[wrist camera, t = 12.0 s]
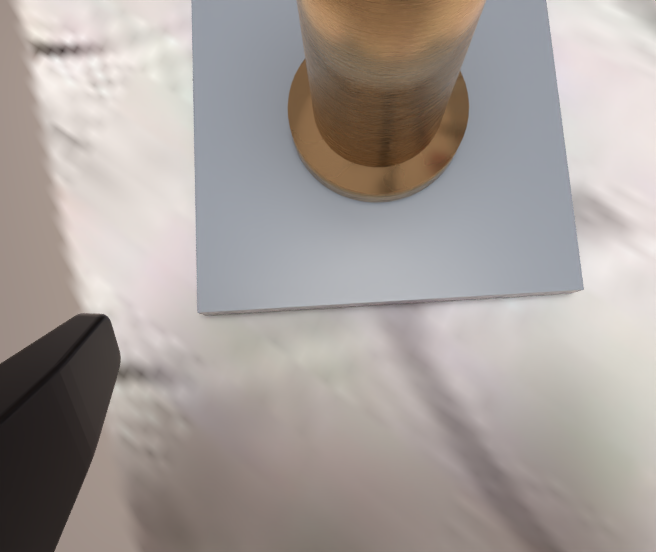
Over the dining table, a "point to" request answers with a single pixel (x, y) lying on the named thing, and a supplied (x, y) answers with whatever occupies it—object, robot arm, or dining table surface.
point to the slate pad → (376, 217)
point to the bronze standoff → (381, 93)
